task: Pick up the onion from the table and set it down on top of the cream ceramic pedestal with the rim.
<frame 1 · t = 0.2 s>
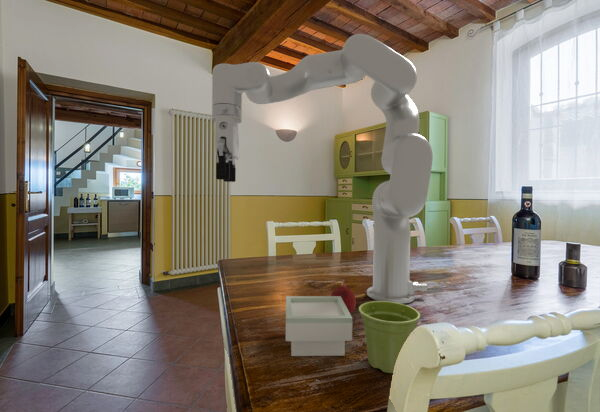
hand: (226, 180, 79), 31 cm above the table, tool pointing down, fingers open, 9 cm apart
pedestal: (315, 342, 55), on the table
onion: (342, 319, 66), on the table
plant pot: (387, 364, 48), on the table
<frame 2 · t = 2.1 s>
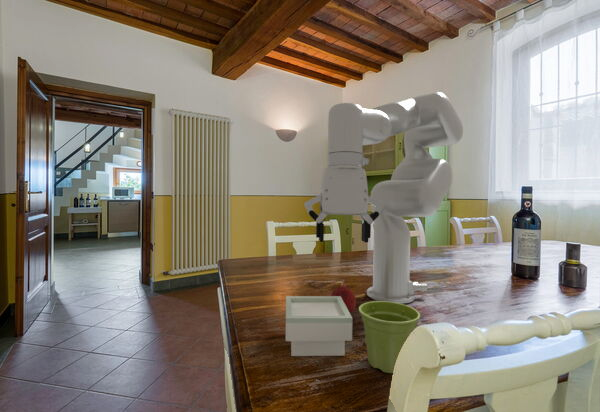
hand: (342, 241, 66), 17 cm above the table, tool pointing down, fingers open, 9 cm apart
nothing on the table moved.
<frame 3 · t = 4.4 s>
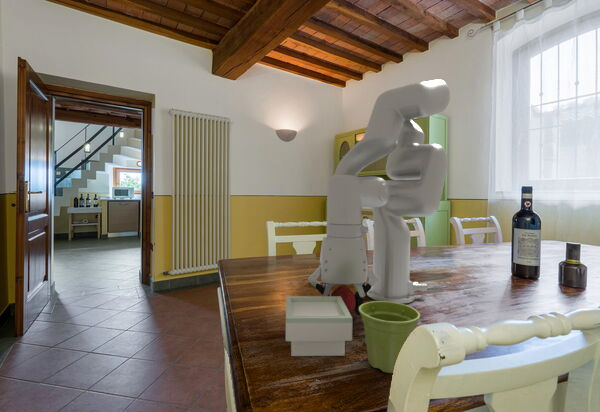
hand: (342, 312, 66), 1 cm above the table, tool pointing down, fingers closed on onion, 5 cm apart
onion: (342, 319, 66), on the table, touching gripper
everything else where it was.
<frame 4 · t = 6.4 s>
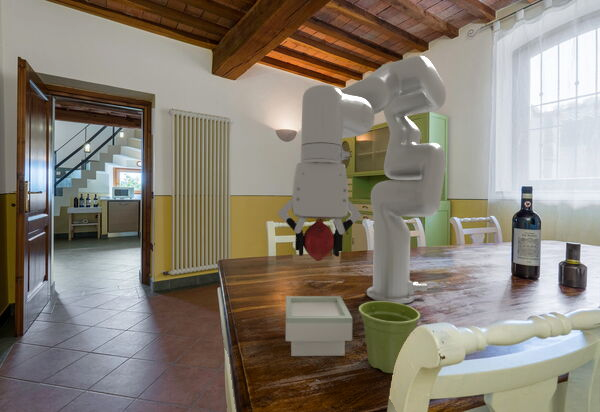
hand: (318, 253, 55), 16 cm above the table, tool pointing down, fingers closed on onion, 5 cm apart
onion: (318, 262, 55), point 15 cm above the table, touching gripper
everything else where it was.
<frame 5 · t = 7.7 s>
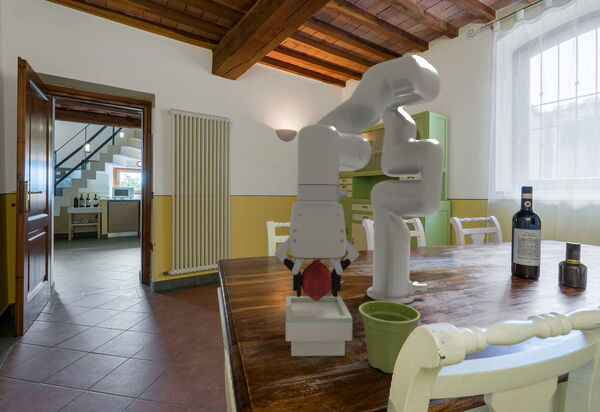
hand: (316, 293, 55), 9 cm above the table, tool pointing down, fingers closed on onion, 5 cm apart
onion: (316, 302, 55), point 8 cm above the table, touching gripper
everything else where it was.
when the fingers open (9 cm above the table, at t = 8.6 s): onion drops 1 cm, resting on pedestal.
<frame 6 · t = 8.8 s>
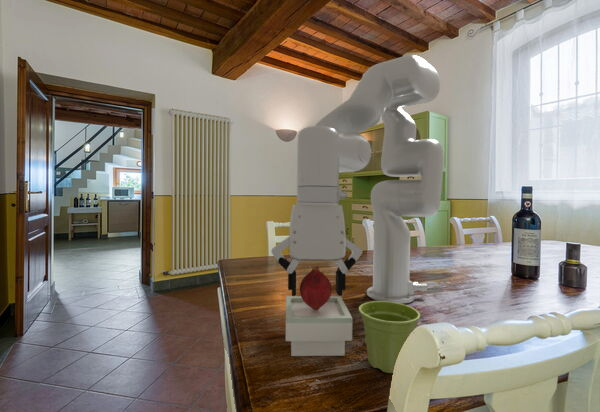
hand: (316, 293, 55), 9 cm above the table, tool pointing down, fingers open, 7 cm apart
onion: (315, 311, 55), point 6 cm above the table, touching pedestal
everything else where it was.
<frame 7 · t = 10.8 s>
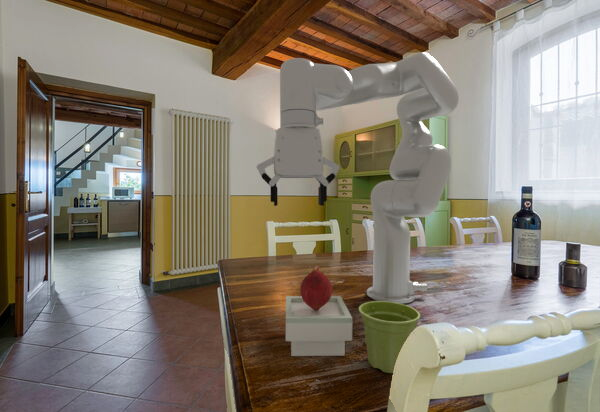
hand: (298, 205, 63), 25 cm above the table, tool pointing down, fingers open, 9 cm apart
nothing on the table moved.
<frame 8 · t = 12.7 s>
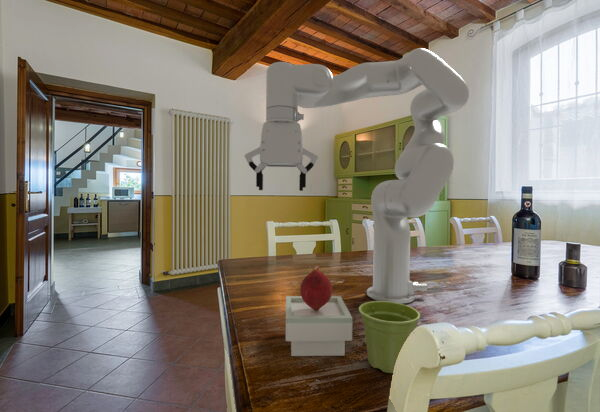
hand: (281, 190, 72), 28 cm above the table, tool pointing down, fingers open, 9 cm apart
nothing on the table moved.
at the end: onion inside the target area on the pedestal (0.1 cm from its centre), point 5.8 cm above the pedestal's base; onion touching pedestal; the gripper is holding nothing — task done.
